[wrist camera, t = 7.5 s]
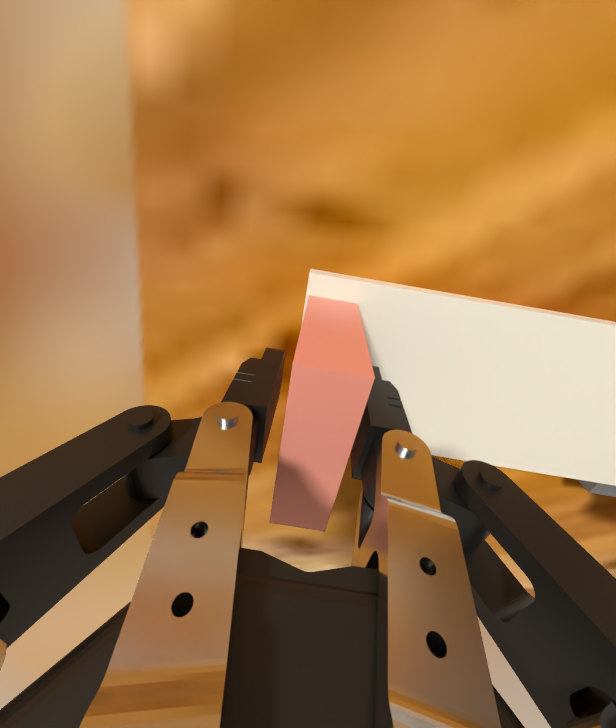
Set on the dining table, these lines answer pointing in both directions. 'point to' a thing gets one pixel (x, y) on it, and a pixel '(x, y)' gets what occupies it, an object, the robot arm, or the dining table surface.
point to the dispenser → (599, 488)
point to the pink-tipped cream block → (443, 386)
